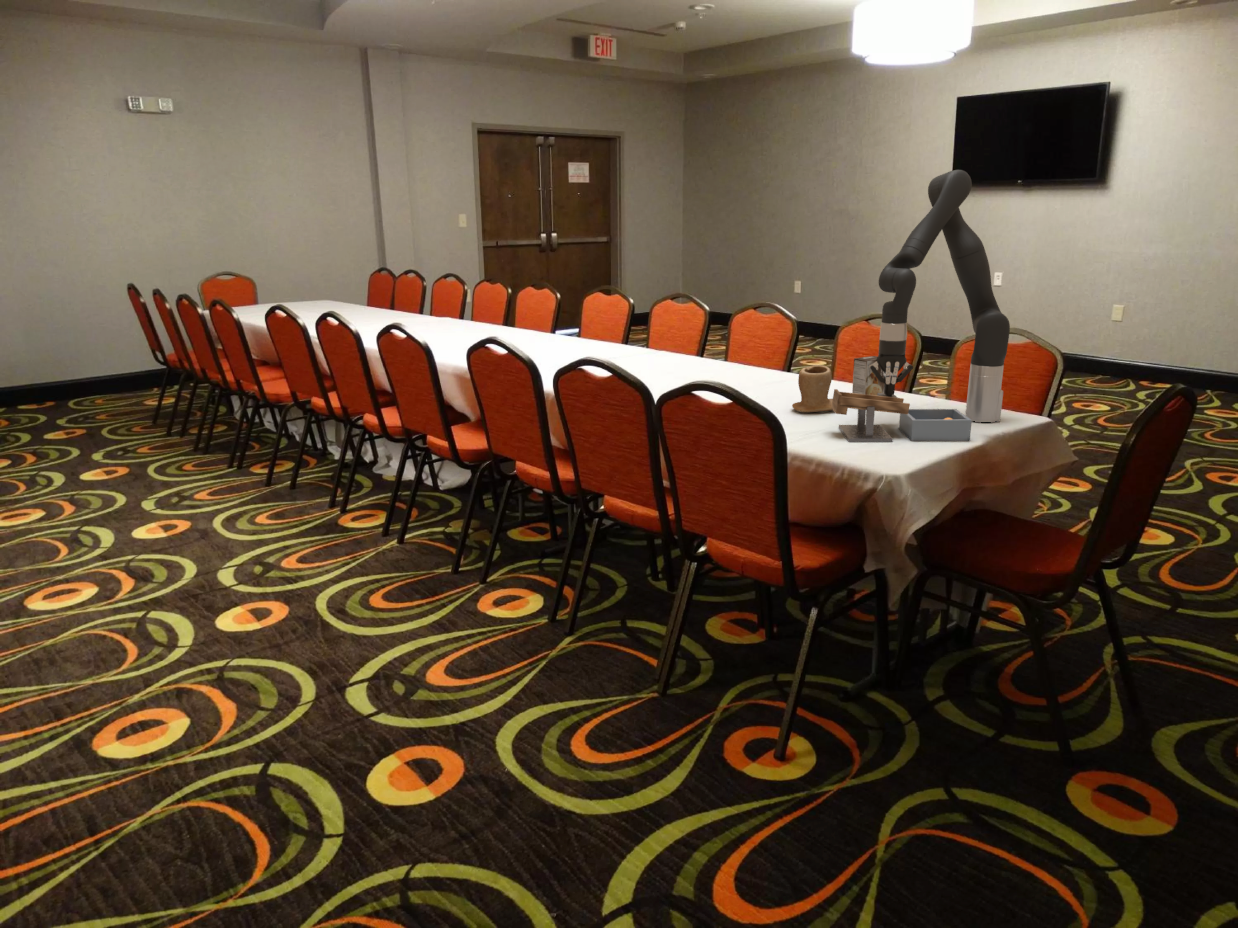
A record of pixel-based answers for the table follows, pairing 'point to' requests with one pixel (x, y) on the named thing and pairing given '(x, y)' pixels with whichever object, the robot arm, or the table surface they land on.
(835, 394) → the chute
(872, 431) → the stand
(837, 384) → the table surface
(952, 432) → the bin
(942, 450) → the table surface
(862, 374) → the coffee box
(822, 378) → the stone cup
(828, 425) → the table surface
